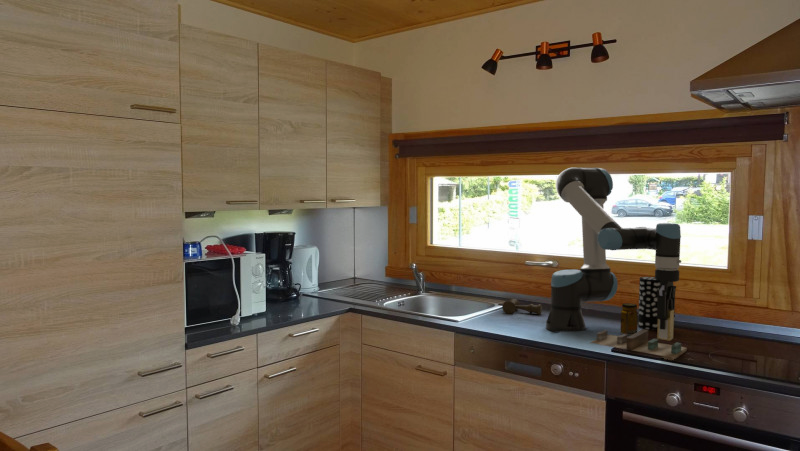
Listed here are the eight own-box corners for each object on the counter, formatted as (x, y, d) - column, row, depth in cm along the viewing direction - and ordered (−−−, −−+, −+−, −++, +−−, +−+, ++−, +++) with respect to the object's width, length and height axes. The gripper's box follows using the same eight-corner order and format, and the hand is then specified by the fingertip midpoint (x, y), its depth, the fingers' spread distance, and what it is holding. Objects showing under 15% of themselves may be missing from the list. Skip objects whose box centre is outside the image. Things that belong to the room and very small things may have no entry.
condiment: (616, 332, 226) (617, 302, 225) (639, 333, 225) (640, 302, 224) (623, 337, 218) (623, 306, 218) (645, 337, 218) (646, 306, 217)
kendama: (538, 318, 253) (494, 312, 262) (543, 314, 262) (500, 309, 271) (539, 304, 253) (495, 299, 262) (544, 301, 262) (501, 296, 270)
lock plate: (589, 345, 207) (589, 331, 206) (606, 336, 219) (607, 323, 219) (673, 360, 189) (673, 345, 188) (686, 350, 201) (687, 336, 200)
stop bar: (657, 338, 197) (658, 309, 197) (660, 336, 200) (661, 308, 200) (669, 340, 195) (670, 311, 194) (673, 338, 198) (674, 309, 197)
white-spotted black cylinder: (662, 326, 236) (663, 277, 235) (658, 330, 229) (660, 280, 228) (640, 324, 240) (641, 276, 239) (636, 327, 234) (637, 278, 232)
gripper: (671, 272, 187) (669, 343, 188) (686, 267, 200) (684, 334, 201) (647, 270, 192) (645, 340, 193) (663, 265, 205) (661, 330, 206)
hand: (665, 336), depth 197 cm, fingers closed on stop bar, 4 cm apart
